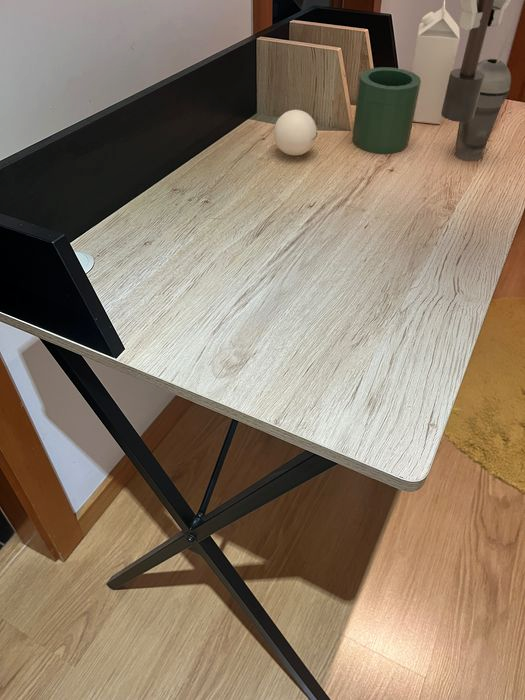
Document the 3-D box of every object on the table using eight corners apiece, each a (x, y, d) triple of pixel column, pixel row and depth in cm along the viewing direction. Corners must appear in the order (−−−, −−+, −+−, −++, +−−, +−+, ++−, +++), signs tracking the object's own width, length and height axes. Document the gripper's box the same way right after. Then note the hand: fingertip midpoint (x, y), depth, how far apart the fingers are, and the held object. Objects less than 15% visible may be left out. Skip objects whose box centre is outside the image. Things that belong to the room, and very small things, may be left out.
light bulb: (309, 166, 96) (312, 123, 91) (267, 159, 98) (268, 116, 93) (324, 141, 103) (327, 100, 98) (284, 135, 105) (286, 94, 99)
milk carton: (440, 110, 113) (465, 1, 100) (439, 125, 108) (466, 13, 95) (403, 106, 114) (424, -2, 101) (401, 121, 110) (422, 9, 96)
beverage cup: (453, 142, 103) (484, 18, 89) (493, 151, 101) (532, 26, 87) (441, 158, 99) (472, 31, 85) (483, 168, 96) (522, 39, 82)
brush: (470, 109, 73) (517, -72, 60) (476, 122, 71) (527, -65, 57) (438, 108, 74) (478, -73, 60) (443, 121, 71) (487, -66, 57)
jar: (404, 130, 107) (416, 68, 99) (410, 155, 100) (424, 90, 92) (351, 128, 107) (358, 66, 99) (353, 152, 100) (362, 88, 92)
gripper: (454, -124, 50) (422, 47, 60) (618, -133, 56) (565, 22, 66) (411, -131, 54) (387, 31, 64) (568, -139, 60) (525, 9, 70)
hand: (479, 26), depth 65 cm, fingers closed on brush, 2 cm apart
